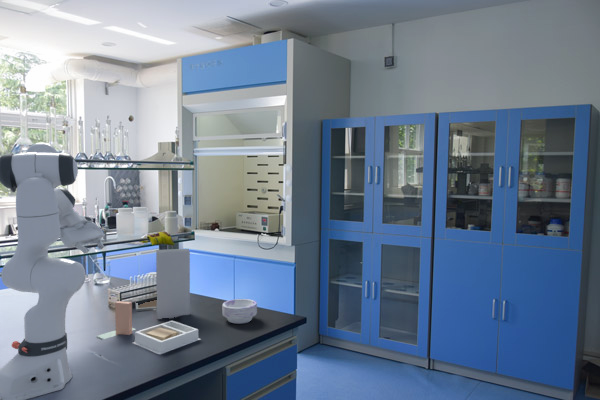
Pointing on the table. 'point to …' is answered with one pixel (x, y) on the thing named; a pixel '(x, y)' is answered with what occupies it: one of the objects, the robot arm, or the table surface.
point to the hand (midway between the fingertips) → (94, 250)
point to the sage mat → (109, 334)
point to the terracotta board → (123, 317)
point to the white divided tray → (157, 346)
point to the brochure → (173, 283)
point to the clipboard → (147, 306)
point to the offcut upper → (161, 334)
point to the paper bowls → (239, 310)
